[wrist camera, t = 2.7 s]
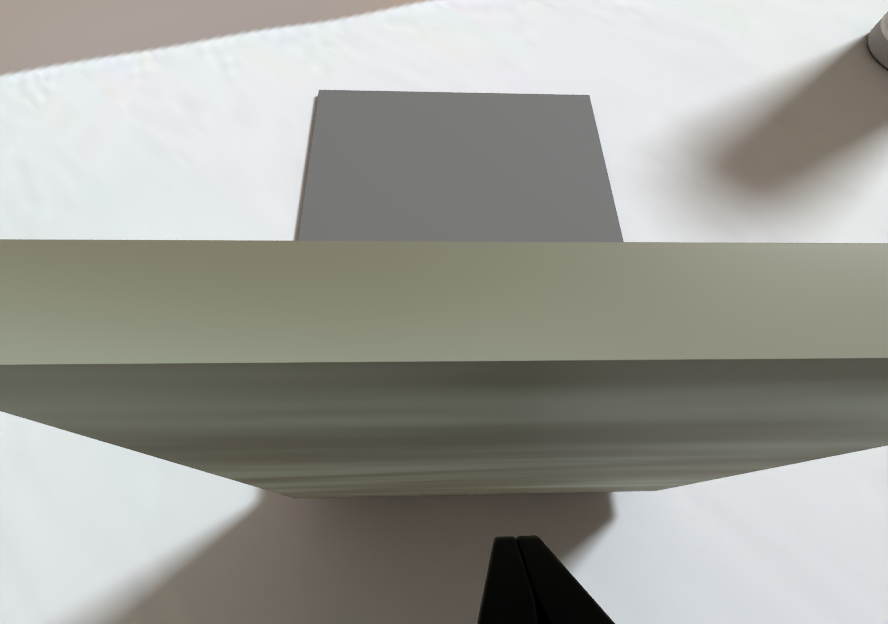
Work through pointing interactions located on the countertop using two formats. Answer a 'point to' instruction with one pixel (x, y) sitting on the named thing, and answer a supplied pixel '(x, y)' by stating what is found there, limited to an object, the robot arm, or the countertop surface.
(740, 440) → the wooden bookend
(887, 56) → the travel mug
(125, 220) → the countertop surface
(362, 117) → the mat
